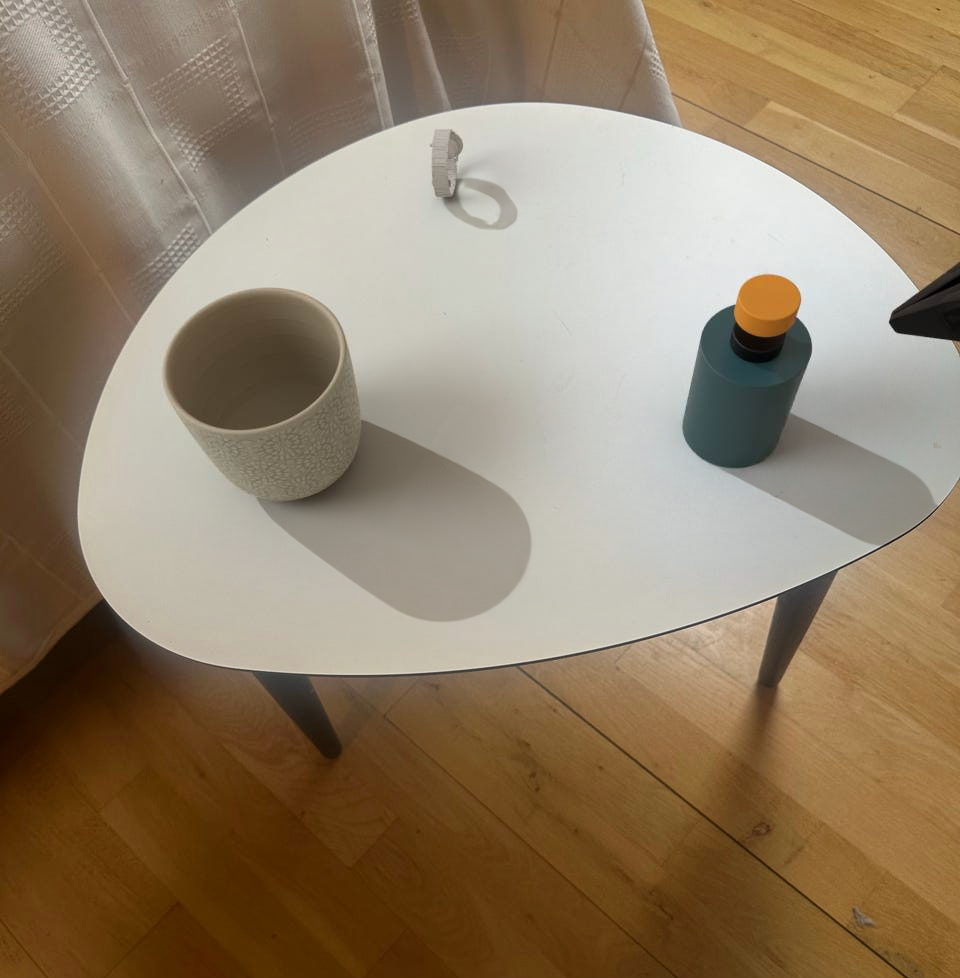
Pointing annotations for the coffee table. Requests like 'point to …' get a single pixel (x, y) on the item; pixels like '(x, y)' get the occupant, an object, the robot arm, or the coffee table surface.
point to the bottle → (742, 390)
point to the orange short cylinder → (767, 305)
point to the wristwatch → (445, 161)
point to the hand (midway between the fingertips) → (893, 322)
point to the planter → (267, 391)
